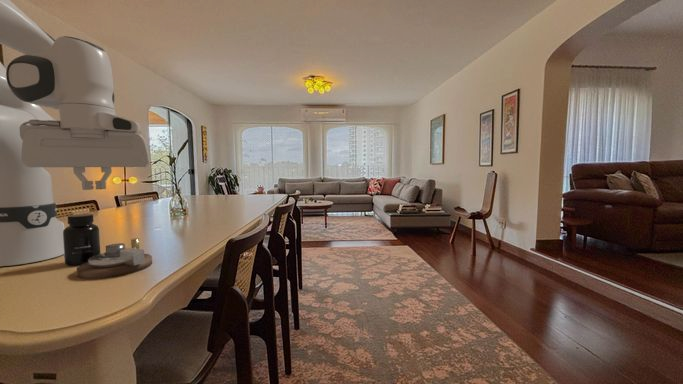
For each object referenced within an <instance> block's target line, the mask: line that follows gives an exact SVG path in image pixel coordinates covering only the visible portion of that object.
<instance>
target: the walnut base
mask: <svg viewBox="0 0 683 384" xmlns="http://www.w3.org/2000/svg"><path fill="white" fill-rule="evenodd" d="M130 241H131V242H130V243H131V248H136V249H140V238H139V237H136V238H131V239H130ZM144 260H145V262H144V263H141V264H138V265H135V266H133V265H127V264H123V265H118V266H111V267H90V266H89V264H88V262H86V263H84V264H82V265H80V266H77V268H76V277H78V278H79V279H83V280H102V279H111V278H116V277H122V276H126V275H129V274H133V273H137V272H140V271H143V270H144V269H147V268H149V267H151V265H152V264H153V256H152V254H149V253H144Z"/></svg>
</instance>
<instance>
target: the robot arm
mask: <svg viewBox="0 0 683 384" xmlns="http://www.w3.org/2000/svg"><path fill="white" fill-rule="evenodd" d="M0 45H1V46H4V47H7V48H9V49H12V50H14V51H17V52H19V53H21V54H23V55H20V56H18V57H15V58H13V59H12V60H11V61H10V62H9V63H8V65H7V67H5V65H3V63H2V62H1V61H0V267H7V266H9V267H10V266H16V265H25V264H31V263H36V262H40V261H45V260H46V261H47V260H49V259H53V258H57V257H60V256H62V255H63V256H64V242H63V231H64V229H65V228H66V227H65V224H64V222H63V221H61V220H59V219H58V218H57V216H58V208H57V205H56V203H55V202H54V191H53V182H52V181H53V180H52V175H51V174H50V173H49V172H48V170H46V169H45V168H72V169H73V174H74V175H75V176H76V178H77V179H78V180H79V181H80V182H81V188H82V191H85V190H86V191H88V190H89V191H90V190H94V187H95V190H107V180H108V179H109V177H110V176H111V175H112V174H113V173H112V168H146V167H148V166H150V165H151V154H150V150H149V146H148V142H147V140H146V138H145V137H144V136H142V135H141V134H142V130H143V127H142V126H141V124H140V123H138V122H137V121H135V120H133V119H128V118H126V117H123V116H119V115H117V113H116V111H117V110H116V107H115V105H114V103H115V93H114V91H115V86H114V85H115V84H114V76H113V75H114V74H113V68H112V64H111V60H110V57H109V55H108V53H107V51H105V50H104V49H103V48H102V47H100V46H99V45H96V44H94V43H92V42H90V41H87V40H83V39H81V38H77V37H72V36H66V35H65V36H58V37H57V38H56V39H54V38H53V37H52V36H51V35H50V34H49V33H47V32H46V31H45V30H44V29H43V28H41V27H40V26H39V25H38V24H37V23H36V22H35V21H34V20H32V19H31V18H30V17H29V16H28V15H27V14H26V13H24V11H22V10H21V9H20V8H19V6H17V5H16V4H15V3H14V2H13V1H11V0H0ZM42 107H43V108H44V107H45V108H50V109H54V110H58V114H59V115H58V116H59V120H58V119H57V120H56V119H55V118H53V117H52V116H51V115H50V114H49V113H48V112H46V110H44V109H43V108H42ZM86 168H100V172H101V173H104V174H103V175H102V177H101V178H100V180H94V181H93V180H88V179H87V178H86V176H85V175H84V174H83V173H86ZM94 185H95V186H94Z"/></svg>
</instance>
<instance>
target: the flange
mask: <svg viewBox="0 0 683 384" xmlns="http://www.w3.org/2000/svg"><path fill="white" fill-rule="evenodd" d="M144 254H145V250H144V249H142V248H139V249H136V248H132V247H128V248H126V244H125V243H121V242H120V243H112V244H108V245H106V246H105V252H104V253H100V254H98V255H95V256H92V257H90V258H89V259H88V264H89V266H90V267H111V266H118V265H123V264H127V265H133V266H135V265H138V264H141V263H144V262H145V260H144Z"/></svg>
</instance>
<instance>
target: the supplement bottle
mask: <svg viewBox="0 0 683 384" xmlns="http://www.w3.org/2000/svg"><path fill="white" fill-rule="evenodd" d="M94 222H95V220H94V214H92V213H85V214H84V213H83V214H82V213H80V214H72V215H68V216H67V224H68V226H67V227H64V228H65V229H64V231H63V242H64V254H63V256H64V264H65V266H68V267H76V266H77V267H78V266H80V265H82V264H84V263H86V262H88V259H89V258H90V257H92V256H95V255H98V254H101V241H100V227H99V226H98V225H96V224H95V223H94Z"/></svg>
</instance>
